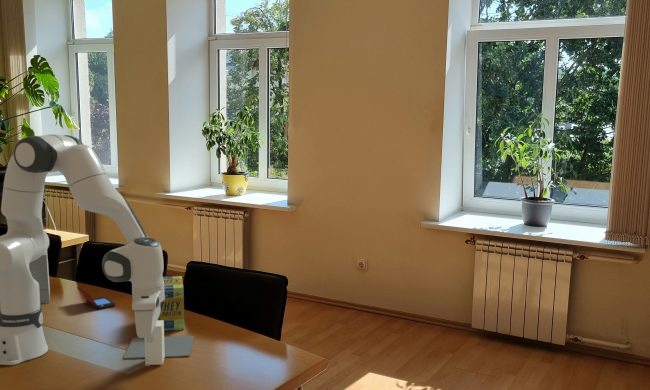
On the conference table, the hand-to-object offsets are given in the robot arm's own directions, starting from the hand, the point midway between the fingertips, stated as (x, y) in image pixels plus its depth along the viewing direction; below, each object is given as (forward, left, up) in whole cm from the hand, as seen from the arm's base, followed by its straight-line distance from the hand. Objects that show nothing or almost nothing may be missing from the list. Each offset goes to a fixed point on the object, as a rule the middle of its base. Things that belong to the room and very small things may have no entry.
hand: (150, 340), depth 172 cm
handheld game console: (-31, +65, -11) cm, 72 cm away
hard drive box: (-55, +75, -11) cm, 94 cm away
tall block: (0, +9, -11) cm, 14 cm away
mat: (0, +20, -11) cm, 23 cm away
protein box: (0, +42, -11) cm, 43 cm away
